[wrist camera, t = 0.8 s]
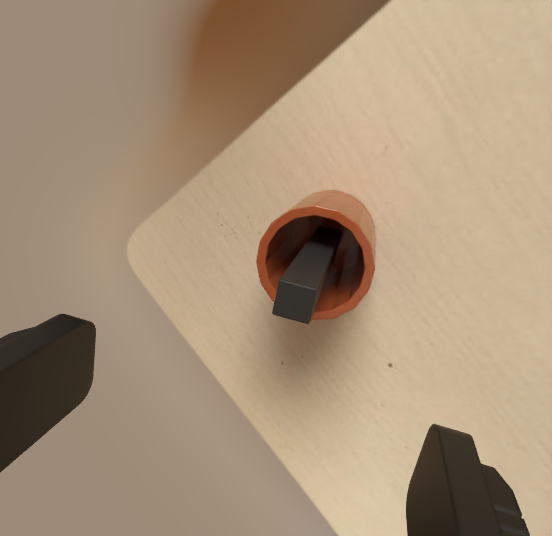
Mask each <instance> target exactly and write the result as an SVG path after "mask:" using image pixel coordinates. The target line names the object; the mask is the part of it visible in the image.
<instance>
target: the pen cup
mask: <svg viewBox="0 0 552 536" xmlns="http://www.w3.org/2000/svg"><path fill="white" fill-rule="evenodd" d="M321 225H325V226H329V227H333V228H337V229H341V232H342V233H341V237H340V241H339V245H338V249H337V253H336V256H335V258H334V261H333V263H332V266H331V269H330V271H329V274H328V276H327V279H326V281H325V284H324V287H323V289H322V292H321V294H320V297H319V300H318V302H317V305H316V307H315V310H314V312H313V315H312V318H311V320H322V319H332V318H336V317H338V316H340V315H342V314H344V313H346V312H348V311H350V310H352V309H354V307H356V306H357V305H358V303H359V302H360V301H361V300H362V298H363V297H364V296H365V295H366V294H367V292H368V290H369V289H370V285H371V281H372V278H373V274H374V270H375V250H376V235H375V226H374V222H373V219H372V217H371V215H370V213H369V211H368V210H367V208H366V207H365V206H364V205H363V204H362V203H361V202H360V201H359V200H358V199H356V198H355V197H353V196H351V195H349V194H347V193H344V192H341V191H334V190H327V191H320V192H316V193H313V194H311V195H309V196H308V197H306V198H305V199H303V200H302V201H300V202H299V203H297V204H296V205H294V206H293V207H292V208H290V209H289V210H288V211H286V212H285V213H284V214H282V215H281V216H280V217H278V218H277V219H276V220H274V221H273V222H272V223H271V225H270V226H269V228H268V229H267V231H266V232H265V234H264V235H263V237H262V238H261V241H260V244H259V249H258V255H257V260H256V263H257V268H258V273H259V277H260V282H261V284H262V286H263V287H264V289H265V290H266V292H267V293H268V295H269V296H270V298H271V299H272V301H273V302H275V297H276V292H277V287H278V282H279V280H280V278H281V277H282V275H283V274H284V273H285V271H286V270H287V269H288V267H289V266H290V264H291V263H292V262H293V260H294V259H295V258H296V256H297V255H298V253H299V252H300V251H301V249H302V248H303V247H304V245H305V244H306V242H307V241H308V240H309V238H310V237H311V236H312V234H313V233H314V231H315V230H316V229H317V227H318V226H321Z"/></svg>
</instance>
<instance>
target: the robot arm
mask: <svg viewBox="0 0 552 536" xmlns="http://www.w3.org/2000/svg"><path fill="white" fill-rule="evenodd" d="M95 338H96V329H95V325H94V324H93V323H92V322H90V321H86V320H83V319H80V318H76V317H73V316H70V315H66V314H59V315H57V316H55V317H53V318H51V319H49V320H47V321H45V322H43V323H41V324H40V325H38V326H36V327H33V328H28V329H25V330H21V331H17V332H13V333H10V334H8V335H6V336H4V337H2V338H0V472H1V471H2V470H4V469H5V468H6V467H7V466H8V465H9V464H11V463H12V462H13V461H14V460H15V459H16V458H18V457H19V456H20V455H21V454H22V453H23V452H24V451H26V450H27V449H28V448H29V447H30V446H32V445H33V444H34V443H35V442H36V441H37V440H39V439H40V438H41V437H42V436H43V435H44V434H46V433H47V432H48V431H49V430H50V429H51V428H52V427H53V426H55V425H56V424H57V423H58V422H59V421H61V420H62V419H63V418H64V417H65V416H66V415H68V414H69V413H70V412H71V411H72V410H73V409H75V408H76V407H77V406H78V405H79V404H80V403H81V402H82V401H83V400H84V399H85V397H86V396H87V394H88V392H89V390H90V388H91V385H92V381H93V371H94V354H95ZM521 516H522V513H521V511H520V508H519V506H518V503H517V500H516V498H515V495H514V493H513V490H512V489H511V488H510V487H509V485H508V484H507V483H506V482H505V480H504V479H503V478H502V477H501V476H500V474H499V473H498V472H497V471H496V469H495V468H493V467H490V466H487V465H483V464H481V463H480V460H479V456H478V453H477V450H476V447H475V444H474V441H473V438H472V436H471V435H470V434H467V433H463V432H460V431H457V430H453V429H450V428H446V427H443V426H440V425H436V424H432V425H431V427H430V428H429V430H428V433H427V436H426V438H425V441H424V444H423V447H422V450H421V452H420V455H419V458H418V461H417V464H416V466H415V469H414V472H413V475H412V478H411V481H410V484H409V488H408V493H407V501H406V519H407V533H408V536H530V534H529V531H528V529H527V526H526V524H525V521H524V519H522V518H521Z"/></svg>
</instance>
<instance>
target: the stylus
mask: <svg viewBox="0 0 552 536" xmlns="http://www.w3.org/2000/svg"><path fill="white" fill-rule="evenodd" d="M341 233H342V232H341V229H337V228H333V227H329V226H325V225H321V226H318V227H317V229H316V230H315V231H314V233H313V234H312V236H311V237H310V238H309V240H308V241H307V242H306V244H305V245H304V247H303V248H302V249H301V251H300V252H299V253H298V255H297V256H296V258H295V259H294V260H293V262H292V263H291V264H290V266H289V267H288V269H287V270H286V271H285V273H284V274H283V275H282V277H281V278H280V280H279V282H278V287H277V292H276V297H275V302H274V307H273V312H272V313H273V315H277V316H280V317H284V318H288V319H291V320H295V321H299V322H302V323H306V324H309V323H310V320H311V318H312V315H313V312H314V310H315V307H316V305H317V302H318V300H319V297H320V294H321V292H322V289H323V287H324V284H325V281H326V279H327V276H328V274H329V271H330V269H331V266H332V263H333V261H334V258H335V256H336V253H337V249H338V245H339V241H340V237H341Z"/></svg>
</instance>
